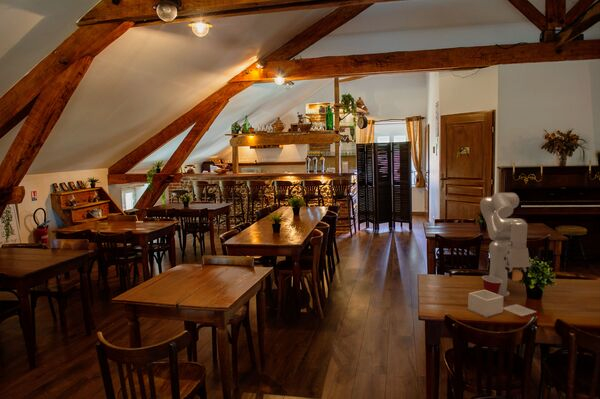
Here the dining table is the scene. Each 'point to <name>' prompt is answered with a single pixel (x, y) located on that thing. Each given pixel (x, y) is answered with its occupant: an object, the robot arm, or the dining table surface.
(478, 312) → the white open box
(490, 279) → the plastic cup
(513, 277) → the ball
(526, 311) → the mat
